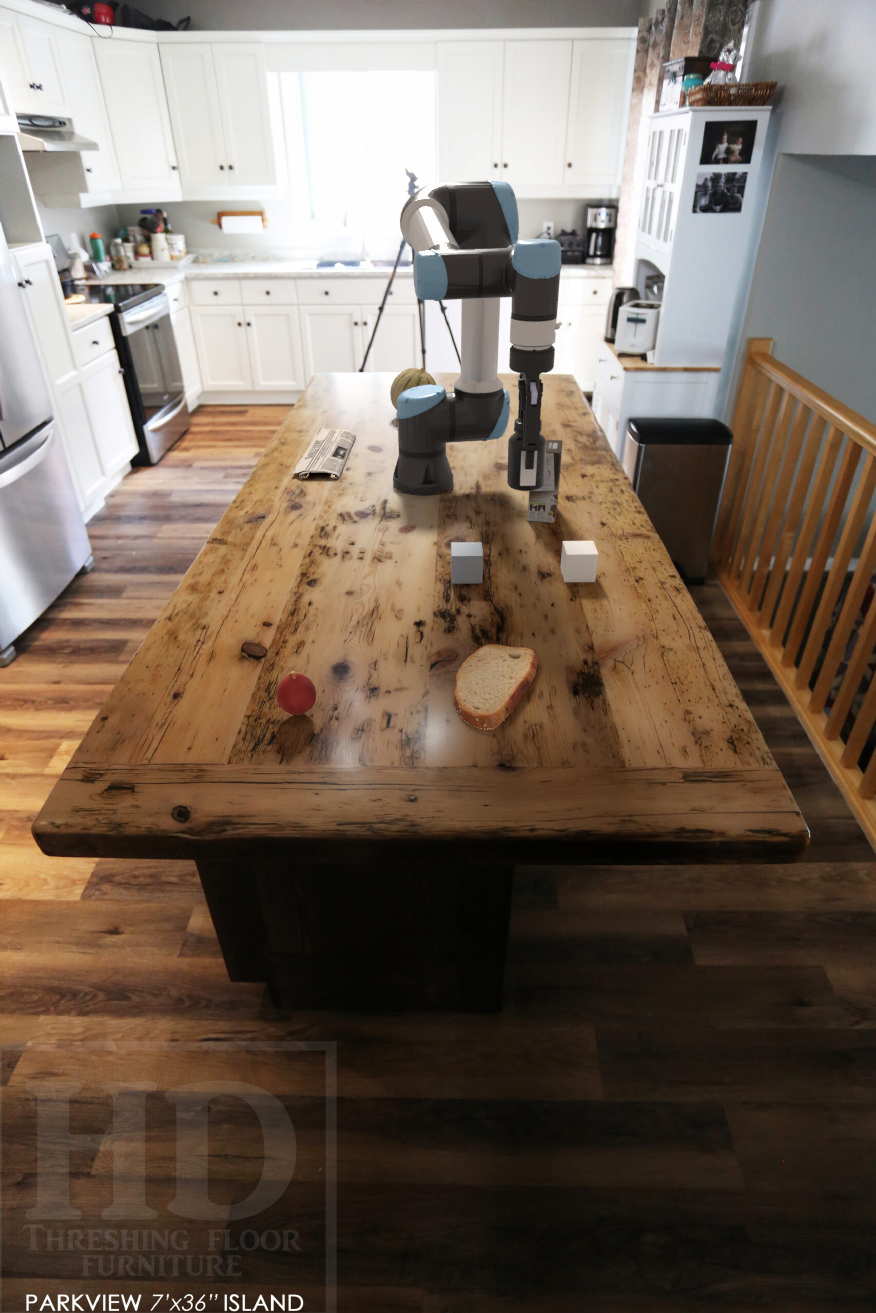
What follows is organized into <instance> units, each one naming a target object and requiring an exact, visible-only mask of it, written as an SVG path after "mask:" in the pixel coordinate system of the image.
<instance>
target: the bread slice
mask: <svg viewBox="0 0 876 1313" xmlns="http://www.w3.org/2000/svg"><path fill="white" fill-rule="evenodd" d="M538 664H539V658H538V656H537V654H536V652H535V651H534V650H533V649H531V648H528V647H522V646H521V647H520V646H518V647H517V646H516V647H515V646H508V645H502V644H497V643H494V644H493V643H492V644H484V645H483V646H481V647H479V648H478V649H477V650H475V651H474V652H473V653H472V654H470V655H469V656H468V657H467V658H466V659H465V661H464V662H463V663H462V664H460V667H459V668H458V670H457V672H456V675H455V678H454V679H455V686H454V687H453V693H454V696H453V695H452V698H453V700H454V701H453V706H454V705H455V707H456V709H455V710H457V711H458V713H459V714H458V713H457V714H458V716H459V715H460V716H461V717H460V716H459V717H460V719H462V718H463V719H462V720H463V721H464V720H465V721H466V722H468V723H469V724H470V725H469V724H468V723H467V724H468V725H469V726H471V725H472V726H475V727H478V728H482V729H484V728H485V729H487V728H495V727H496V726H498V725H500V724H501V723H502V722H503V721H504V722H505V721H506V720H507V719H508V718H509V717H510V716H511V715H510V714H512V713H513V712H512V711H515V709H516V707H517V705H518V704H519V703H518V702H520V701H521V699H522V698H523V696H525V694H526V692H527V691H528V689H529V688H530V686H531V685H532V682H533V680H534V679H535V677H536V674H537V668H538ZM455 707H454V708H455ZM457 711H456V712H457ZM511 712H512V713H511ZM509 715H510V716H509ZM508 716H509V717H508ZM507 717H508V718H507ZM506 718H507V719H506ZM505 719H506V720H505ZM465 721H464V722H465ZM466 722H465V723H466ZM504 722H503V723H504ZM503 723H502V724H503ZM502 724H501V725H502ZM501 725H500V726H501ZM472 726H471V727H472ZM475 727H474V728H475Z"/></svg>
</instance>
